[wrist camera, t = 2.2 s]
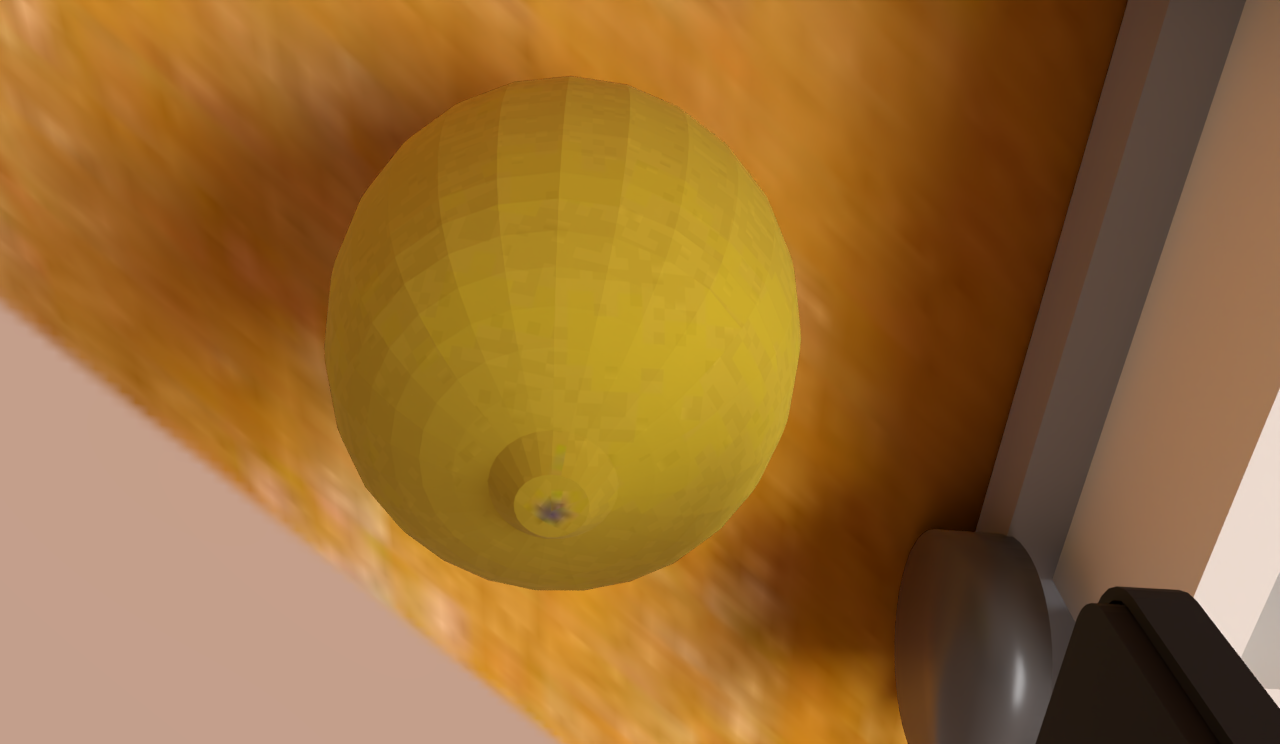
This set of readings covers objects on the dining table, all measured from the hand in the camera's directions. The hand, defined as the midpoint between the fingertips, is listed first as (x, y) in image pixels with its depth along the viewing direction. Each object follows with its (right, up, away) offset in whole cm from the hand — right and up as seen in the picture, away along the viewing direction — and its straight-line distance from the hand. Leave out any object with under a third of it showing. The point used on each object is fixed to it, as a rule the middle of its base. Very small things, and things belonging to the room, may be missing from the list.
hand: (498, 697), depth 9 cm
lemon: (0, +5, +8) cm, 10 cm away
